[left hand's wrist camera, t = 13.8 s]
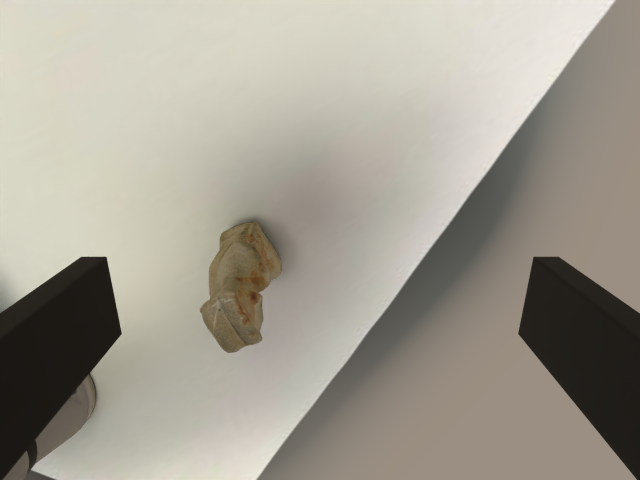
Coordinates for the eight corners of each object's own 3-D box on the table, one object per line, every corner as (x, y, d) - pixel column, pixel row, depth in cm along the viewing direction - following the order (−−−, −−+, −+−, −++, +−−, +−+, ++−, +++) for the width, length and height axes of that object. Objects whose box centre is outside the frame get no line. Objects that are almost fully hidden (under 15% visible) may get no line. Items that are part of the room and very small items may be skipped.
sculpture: (243, 283, 46) (209, 367, 32) (216, 226, 44) (167, 291, 30) (290, 267, 45) (277, 346, 31) (266, 209, 43) (240, 266, 29)
